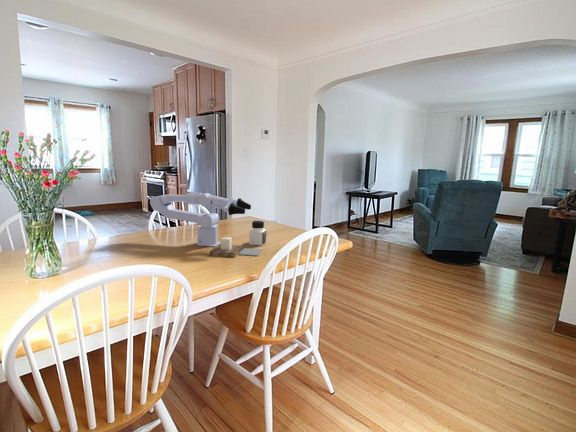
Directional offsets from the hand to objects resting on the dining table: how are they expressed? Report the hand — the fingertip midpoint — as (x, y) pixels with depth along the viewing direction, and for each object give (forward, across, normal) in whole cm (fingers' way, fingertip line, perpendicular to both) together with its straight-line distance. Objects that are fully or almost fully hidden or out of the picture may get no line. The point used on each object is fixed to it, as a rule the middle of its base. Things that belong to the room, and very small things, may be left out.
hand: (247, 209), depth 152 cm
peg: (-4, -12, +19) cm, 23 cm away
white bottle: (+5, +7, +20) cm, 22 cm away
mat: (+7, -9, +18) cm, 21 cm away
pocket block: (-4, -12, +19) cm, 23 cm away
